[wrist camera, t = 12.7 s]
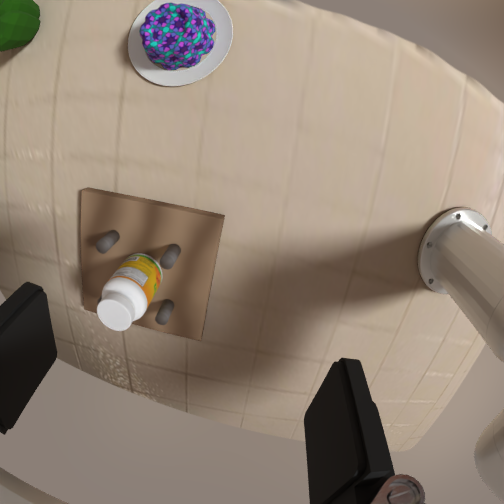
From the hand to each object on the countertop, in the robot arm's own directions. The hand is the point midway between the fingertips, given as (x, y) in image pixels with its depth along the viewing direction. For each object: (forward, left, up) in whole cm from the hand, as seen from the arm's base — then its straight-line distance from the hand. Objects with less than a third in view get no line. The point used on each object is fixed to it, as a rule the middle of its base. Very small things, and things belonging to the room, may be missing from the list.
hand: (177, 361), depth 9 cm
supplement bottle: (+10, +14, -27) cm, 32 cm away
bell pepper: (+34, -17, -28) cm, 48 cm away
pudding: (+10, -14, -29) cm, 34 cm away
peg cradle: (+10, +14, -28) cm, 33 cm away
